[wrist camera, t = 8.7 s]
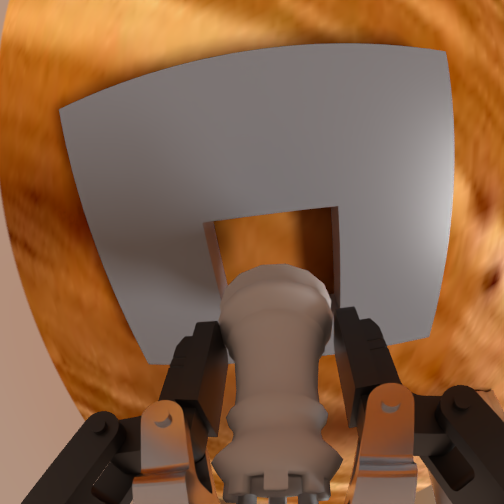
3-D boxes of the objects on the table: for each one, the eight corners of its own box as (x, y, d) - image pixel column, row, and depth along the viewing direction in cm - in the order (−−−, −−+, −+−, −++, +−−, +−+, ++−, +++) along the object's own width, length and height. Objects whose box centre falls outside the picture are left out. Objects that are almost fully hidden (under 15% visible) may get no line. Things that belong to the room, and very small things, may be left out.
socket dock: (426, 55, 11) (445, 51, 9) (418, 317, 18) (429, 336, 16) (80, 106, 13) (58, 109, 11) (157, 343, 20) (148, 364, 18)
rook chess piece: (348, 312, 12) (395, 490, 5) (264, 357, 14) (259, 521, 7) (289, 234, 11) (314, 454, 4) (198, 295, 12) (143, 482, 5)
